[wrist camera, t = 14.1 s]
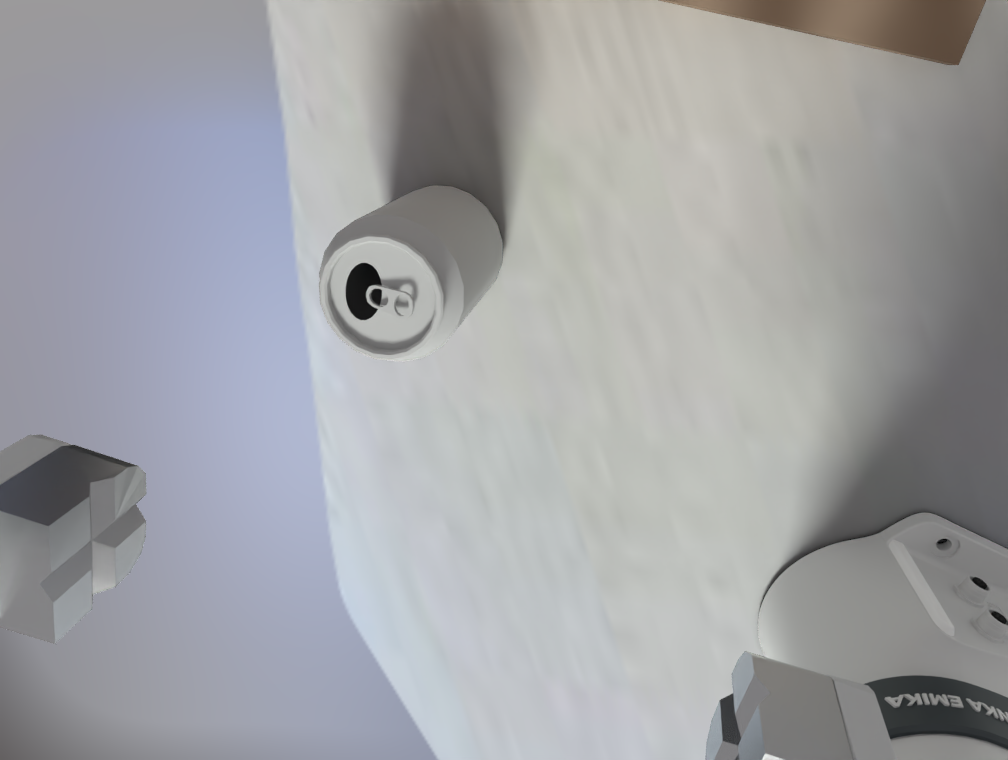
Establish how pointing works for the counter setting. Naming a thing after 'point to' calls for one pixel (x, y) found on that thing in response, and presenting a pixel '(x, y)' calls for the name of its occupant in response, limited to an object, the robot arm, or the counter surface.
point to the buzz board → (867, 22)
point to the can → (410, 272)
